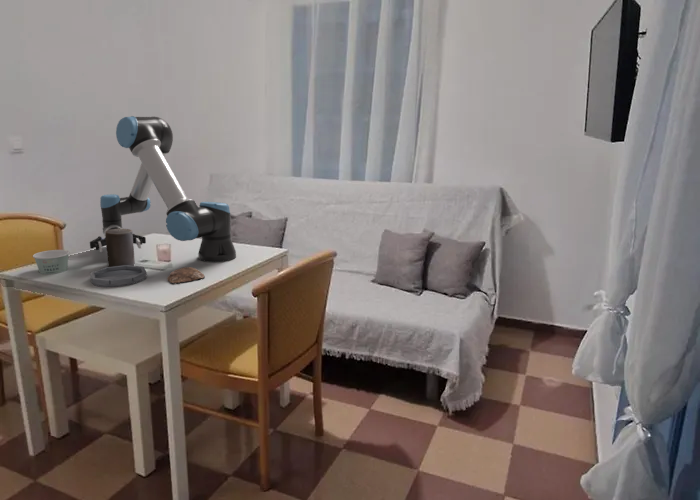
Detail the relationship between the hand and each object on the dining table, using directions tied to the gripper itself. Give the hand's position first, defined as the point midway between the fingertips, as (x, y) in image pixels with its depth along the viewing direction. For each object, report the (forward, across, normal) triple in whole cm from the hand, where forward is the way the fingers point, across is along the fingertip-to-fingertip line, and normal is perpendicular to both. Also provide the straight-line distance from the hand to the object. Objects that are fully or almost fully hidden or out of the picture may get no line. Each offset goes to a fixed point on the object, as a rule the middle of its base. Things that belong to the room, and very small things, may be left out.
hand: (120, 246), depth 197 cm
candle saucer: (+16, +3, -8) cm, 18 cm away
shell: (+25, -19, -9) cm, 32 cm away
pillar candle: (-2, 0, -8) cm, 9 cm away
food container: (-6, +23, -8) cm, 25 cm away
